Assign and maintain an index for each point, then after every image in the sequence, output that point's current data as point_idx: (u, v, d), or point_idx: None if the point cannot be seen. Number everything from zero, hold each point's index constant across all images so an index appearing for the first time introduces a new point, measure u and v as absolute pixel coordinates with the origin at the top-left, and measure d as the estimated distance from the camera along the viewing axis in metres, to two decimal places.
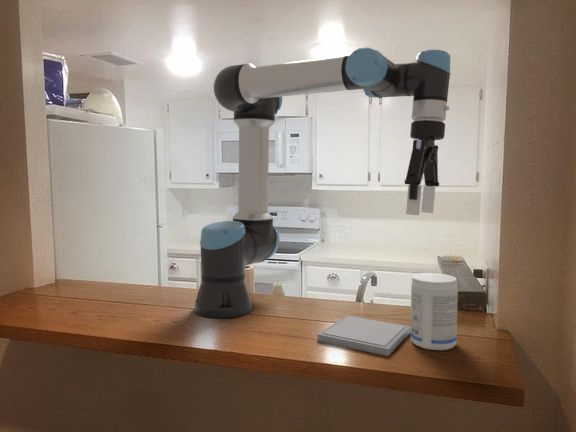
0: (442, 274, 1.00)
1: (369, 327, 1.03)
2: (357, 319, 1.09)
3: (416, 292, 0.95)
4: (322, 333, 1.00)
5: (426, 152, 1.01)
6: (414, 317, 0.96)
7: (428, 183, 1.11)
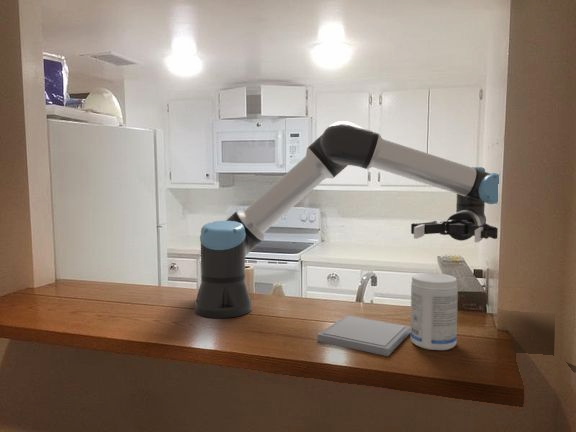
0: (442, 274, 1.00)
1: (369, 327, 1.03)
2: (357, 319, 1.09)
3: (416, 292, 0.95)
4: (322, 333, 1.00)
5: None
6: (414, 317, 0.96)
7: None
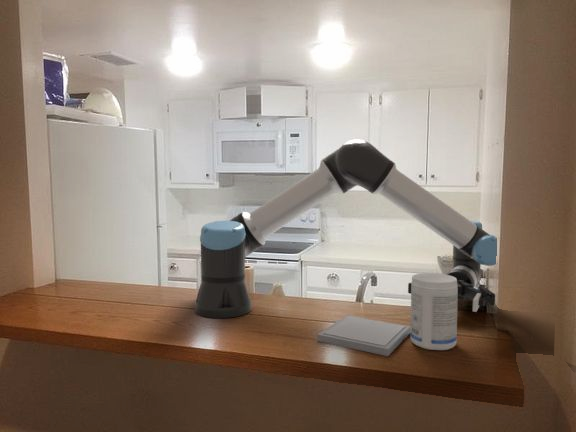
0: (442, 274, 1.00)
1: (369, 327, 1.03)
2: (357, 319, 1.09)
3: (416, 292, 0.95)
4: (322, 333, 1.00)
5: None
6: (414, 317, 0.96)
7: None
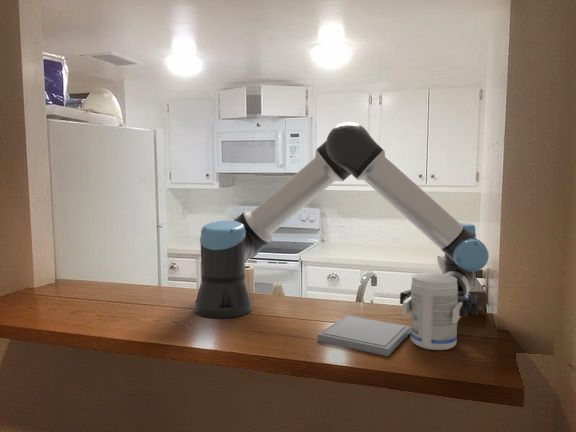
0: (442, 274, 1.00)
1: (369, 327, 1.03)
2: (357, 319, 1.09)
3: (416, 291, 0.95)
4: (322, 333, 1.00)
5: None
6: (414, 317, 0.96)
7: None
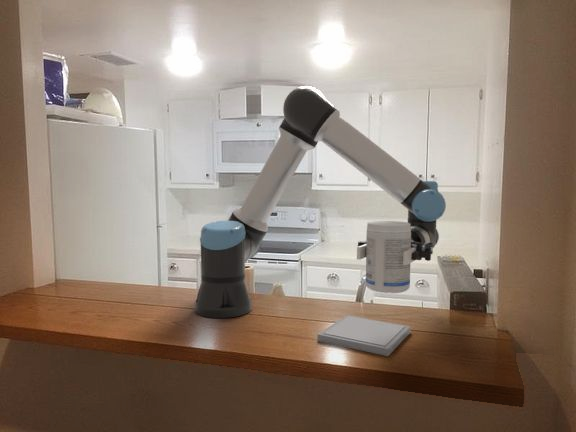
0: (398, 221, 1.01)
1: (369, 327, 1.03)
2: (357, 319, 1.09)
3: (370, 236, 0.97)
4: (322, 333, 1.00)
5: None
6: (368, 261, 0.98)
7: None
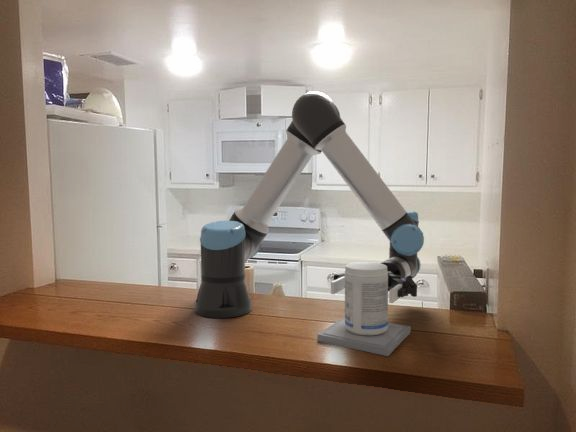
0: (375, 263, 1.03)
1: None
2: None
3: (347, 279, 0.99)
4: (322, 333, 1.00)
5: None
6: (346, 304, 1.00)
7: None
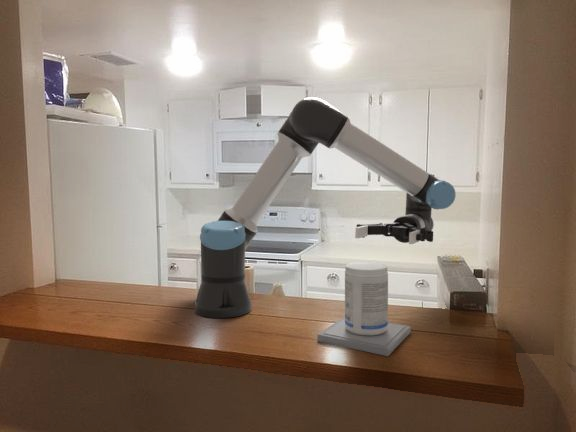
0: (376, 263, 1.03)
1: None
2: None
3: (347, 279, 0.99)
4: (322, 333, 1.00)
5: None
6: (346, 304, 1.00)
7: None
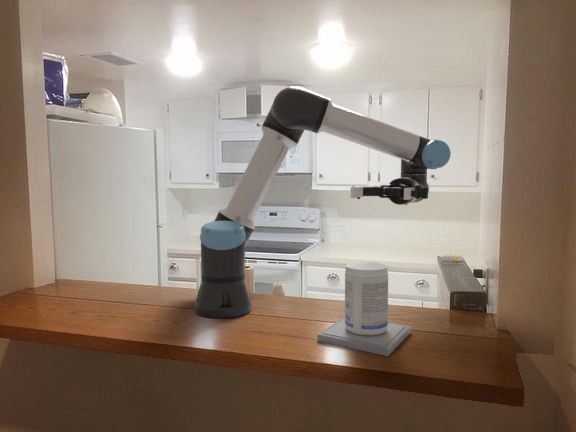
0: (376, 263, 1.03)
1: None
2: None
3: (348, 279, 0.99)
4: (322, 333, 1.00)
5: None
6: (346, 304, 1.00)
7: None
